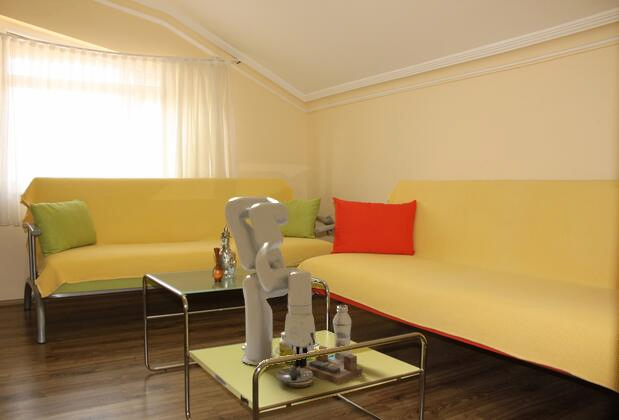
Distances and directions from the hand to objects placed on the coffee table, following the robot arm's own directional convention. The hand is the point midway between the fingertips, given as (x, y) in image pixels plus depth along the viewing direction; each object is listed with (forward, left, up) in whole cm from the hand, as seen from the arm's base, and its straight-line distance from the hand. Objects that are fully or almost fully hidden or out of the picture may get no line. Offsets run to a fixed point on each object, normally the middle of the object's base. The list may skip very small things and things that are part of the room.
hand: (301, 366), depth 170 cm
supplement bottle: (-19, +11, -5) cm, 22 cm away
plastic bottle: (-3, +23, -5) cm, 23 cm away
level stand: (+1, +12, -5) cm, 13 cm away
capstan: (0, -3, -5) cm, 6 cm away
